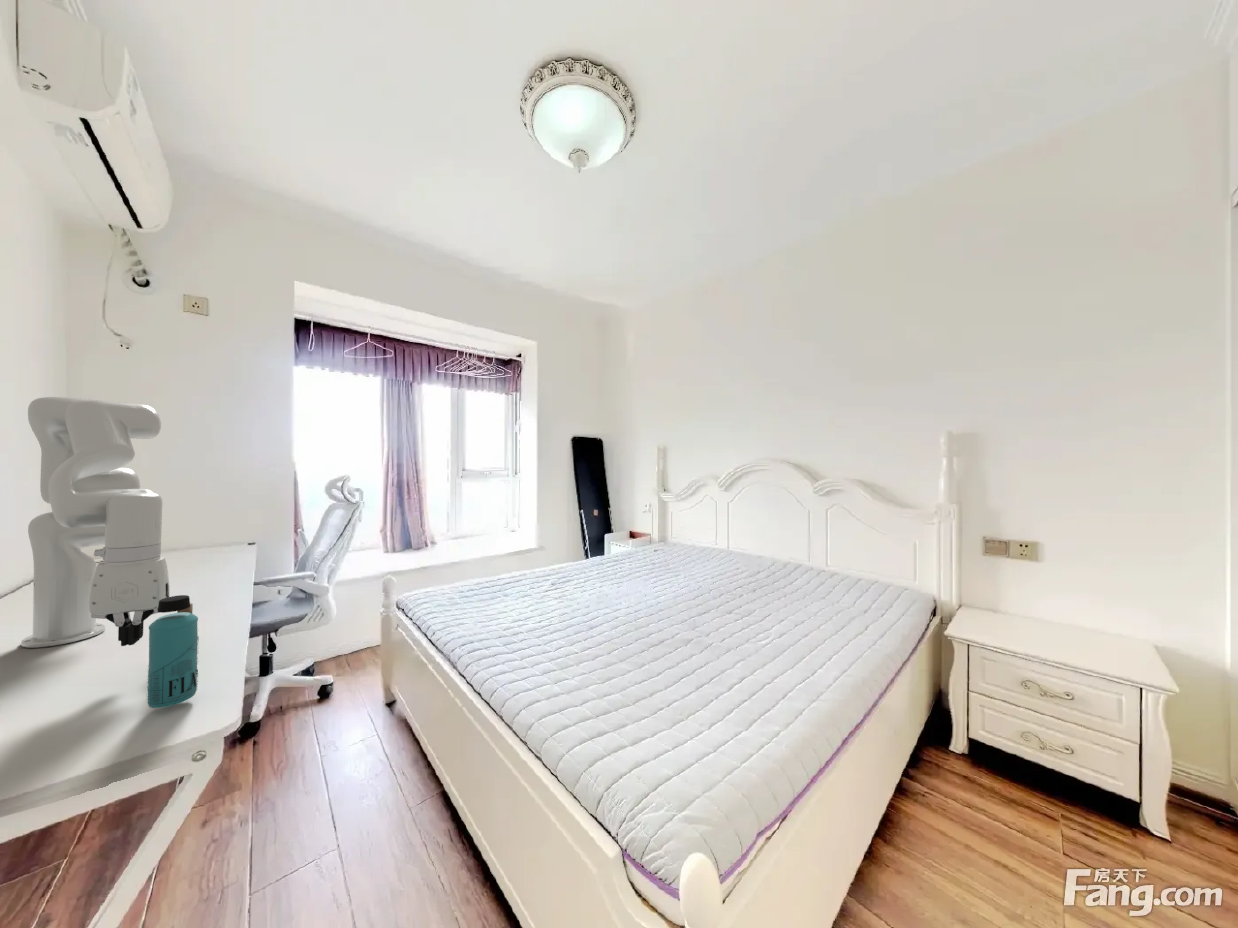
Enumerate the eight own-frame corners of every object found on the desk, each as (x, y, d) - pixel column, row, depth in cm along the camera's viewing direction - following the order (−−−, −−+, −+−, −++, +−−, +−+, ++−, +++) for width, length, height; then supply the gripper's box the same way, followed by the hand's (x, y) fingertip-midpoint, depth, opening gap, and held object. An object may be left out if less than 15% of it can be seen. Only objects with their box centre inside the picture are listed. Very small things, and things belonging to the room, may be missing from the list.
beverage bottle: (163, 719, 73) (166, 604, 73) (135, 714, 74) (137, 601, 74) (207, 699, 79) (209, 593, 79) (180, 694, 81) (182, 590, 81)
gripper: (65, 560, 79) (62, 658, 79) (176, 554, 86) (173, 643, 86) (89, 552, 85) (86, 642, 85) (191, 547, 93) (188, 630, 93)
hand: (130, 642), depth 86 cm, fingers closed
